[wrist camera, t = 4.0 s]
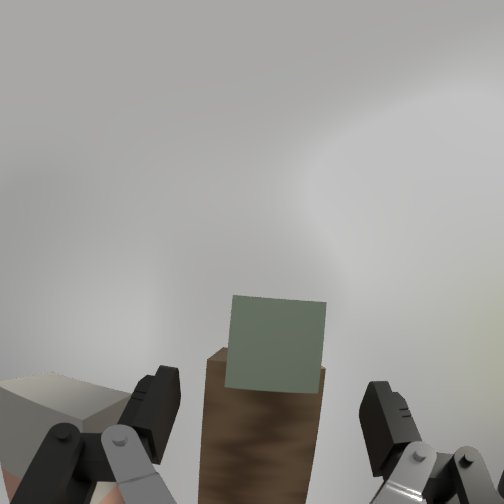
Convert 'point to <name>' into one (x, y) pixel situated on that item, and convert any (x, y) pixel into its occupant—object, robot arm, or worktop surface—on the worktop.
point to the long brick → (275, 344)
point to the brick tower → (53, 421)
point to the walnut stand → (255, 441)
